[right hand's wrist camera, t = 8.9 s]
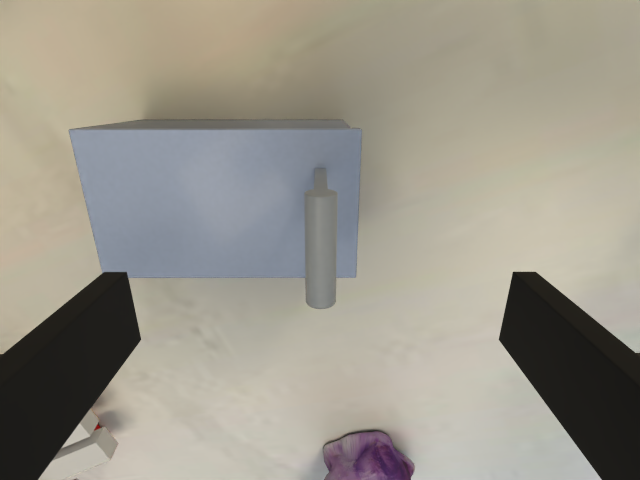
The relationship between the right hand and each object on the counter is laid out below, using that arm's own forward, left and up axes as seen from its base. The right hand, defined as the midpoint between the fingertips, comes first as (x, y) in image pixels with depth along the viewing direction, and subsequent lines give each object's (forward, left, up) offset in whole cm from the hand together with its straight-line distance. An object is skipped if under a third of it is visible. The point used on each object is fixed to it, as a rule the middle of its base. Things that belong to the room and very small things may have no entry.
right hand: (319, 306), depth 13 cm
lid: (+3, -5, -13) cm, 14 cm away
